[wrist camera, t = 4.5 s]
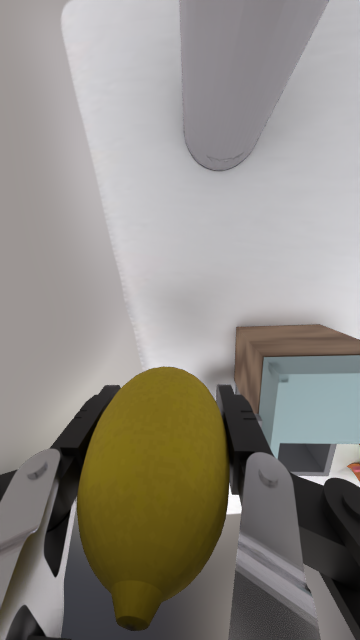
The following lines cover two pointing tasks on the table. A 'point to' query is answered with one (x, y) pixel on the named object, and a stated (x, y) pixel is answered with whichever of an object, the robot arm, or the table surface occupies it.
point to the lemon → (153, 491)
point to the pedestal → (282, 351)
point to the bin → (305, 457)
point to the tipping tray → (310, 400)
